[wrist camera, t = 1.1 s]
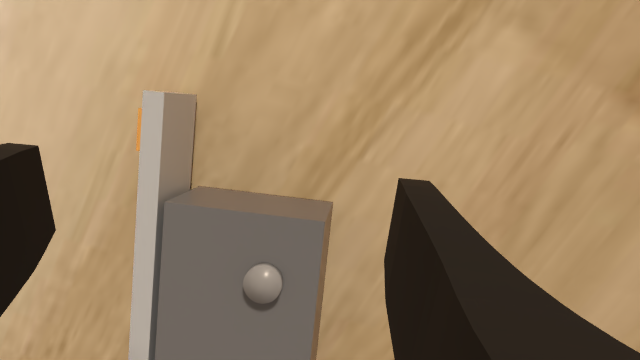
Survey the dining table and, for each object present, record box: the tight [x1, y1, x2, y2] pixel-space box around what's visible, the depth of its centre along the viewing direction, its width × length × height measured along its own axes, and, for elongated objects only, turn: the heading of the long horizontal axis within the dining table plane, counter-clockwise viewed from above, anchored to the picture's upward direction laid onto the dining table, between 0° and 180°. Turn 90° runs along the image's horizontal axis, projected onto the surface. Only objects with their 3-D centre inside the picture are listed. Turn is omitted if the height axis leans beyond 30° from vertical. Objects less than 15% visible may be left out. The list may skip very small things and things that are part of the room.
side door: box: [128, 90, 197, 360], centre depth 22 cm, size 14×1×4 cm, turn 174°
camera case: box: [155, 186, 333, 360], centre depth 22 cm, size 11×6×4 cm, turn 174°
